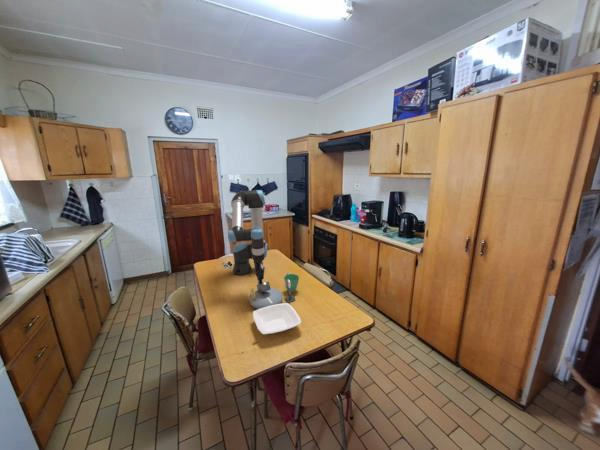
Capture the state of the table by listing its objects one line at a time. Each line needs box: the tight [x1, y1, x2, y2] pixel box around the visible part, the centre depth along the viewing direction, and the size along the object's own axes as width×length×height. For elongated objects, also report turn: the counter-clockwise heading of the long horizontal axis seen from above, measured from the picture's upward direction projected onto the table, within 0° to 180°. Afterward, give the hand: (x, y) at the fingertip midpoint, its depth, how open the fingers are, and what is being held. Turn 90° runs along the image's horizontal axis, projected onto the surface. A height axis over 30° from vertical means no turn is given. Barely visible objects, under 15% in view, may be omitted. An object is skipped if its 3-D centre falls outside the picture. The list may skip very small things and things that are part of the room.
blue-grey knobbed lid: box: [249, 287, 283, 310], centre depth 149 cm, size 20×20×10 cm
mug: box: [283, 272, 300, 293], centre depth 165 cm, size 15×10×10 cm
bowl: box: [252, 302, 302, 335], centre depth 128 cm, size 22×23×6 cm
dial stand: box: [284, 279, 296, 304], centre depth 151 cm, size 5×5×14 cm
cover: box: [256, 281, 272, 293], centre depth 152 cm, size 8×8×5 cm
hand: (260, 287), depth 158 cm, fingers closed
